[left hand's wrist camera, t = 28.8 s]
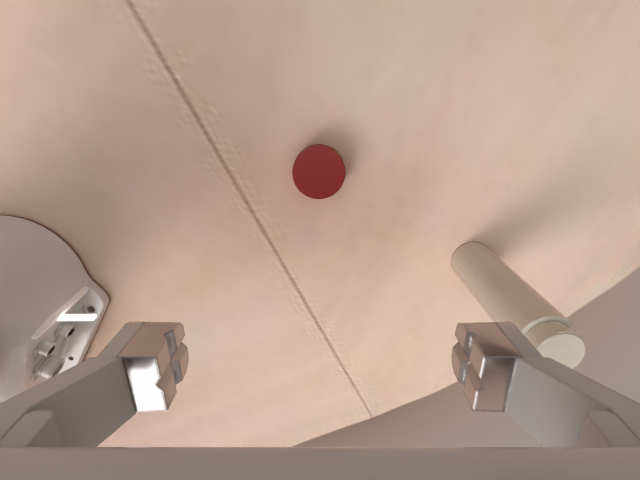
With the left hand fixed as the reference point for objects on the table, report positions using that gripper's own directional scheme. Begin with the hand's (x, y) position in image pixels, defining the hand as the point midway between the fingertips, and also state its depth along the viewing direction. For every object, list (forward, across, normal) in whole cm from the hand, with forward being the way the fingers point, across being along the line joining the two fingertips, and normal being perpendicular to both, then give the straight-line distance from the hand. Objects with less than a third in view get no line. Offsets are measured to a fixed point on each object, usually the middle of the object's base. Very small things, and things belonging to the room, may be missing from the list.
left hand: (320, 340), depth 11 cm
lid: (+25, 0, 0) cm, 25 cm away
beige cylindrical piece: (+27, +17, -10) cm, 33 cm away
